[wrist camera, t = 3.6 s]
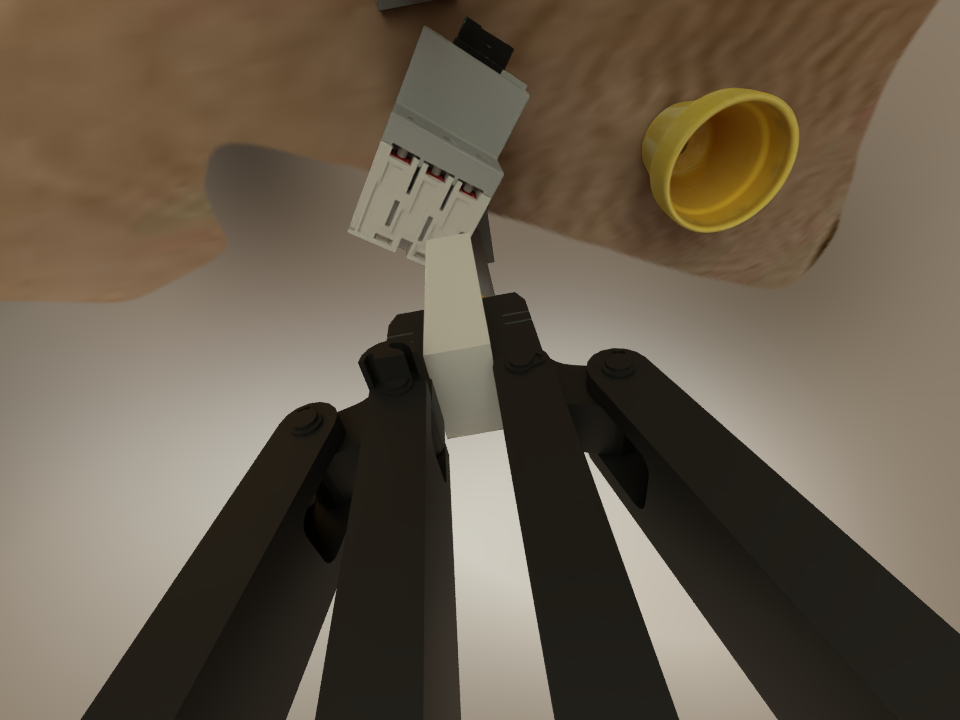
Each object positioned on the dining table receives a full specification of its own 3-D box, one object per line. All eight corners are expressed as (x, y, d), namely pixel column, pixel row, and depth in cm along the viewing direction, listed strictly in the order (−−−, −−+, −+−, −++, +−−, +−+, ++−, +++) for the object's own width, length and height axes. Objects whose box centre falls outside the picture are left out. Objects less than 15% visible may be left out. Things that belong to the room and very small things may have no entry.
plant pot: (706, 200, 45) (762, 236, 38) (610, 196, 44) (648, 232, 36) (749, 82, 39) (828, 96, 31) (639, 74, 38) (693, 87, 30)
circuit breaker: (516, 56, 36) (558, 72, 24) (442, 210, 43) (447, 279, 32) (434, 0, 34) (437, -12, 22) (370, 174, 41) (346, 235, 29)
